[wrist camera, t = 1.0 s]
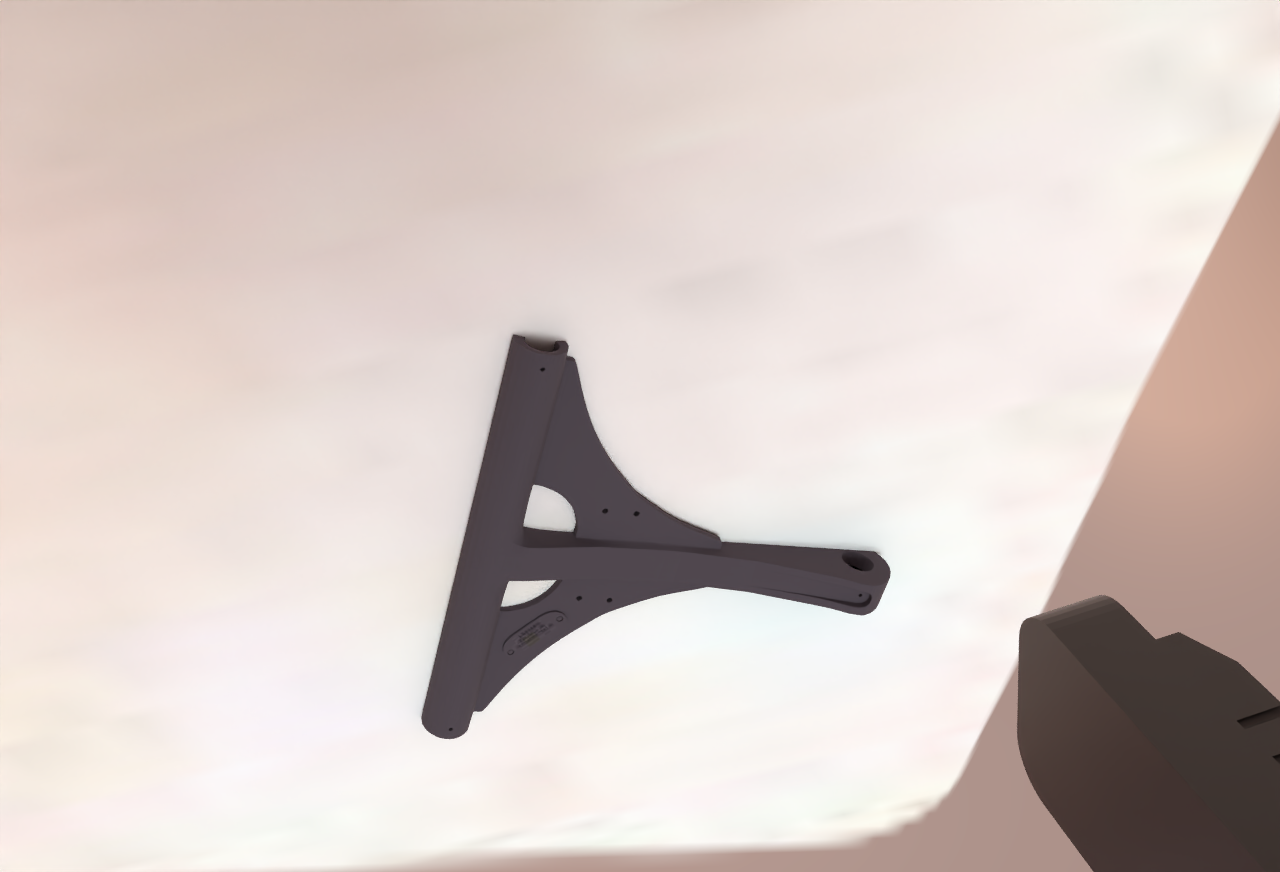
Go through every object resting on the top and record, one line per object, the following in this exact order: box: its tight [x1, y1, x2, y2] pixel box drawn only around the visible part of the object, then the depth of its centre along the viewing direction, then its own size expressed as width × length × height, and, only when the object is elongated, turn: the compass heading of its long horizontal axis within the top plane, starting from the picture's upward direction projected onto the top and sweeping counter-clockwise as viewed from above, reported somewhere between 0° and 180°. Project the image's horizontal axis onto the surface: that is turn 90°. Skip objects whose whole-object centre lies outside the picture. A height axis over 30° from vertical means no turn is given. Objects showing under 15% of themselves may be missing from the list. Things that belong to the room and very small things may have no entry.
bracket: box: [422, 335, 891, 739], centre depth 40 cm, size 14×15×3 cm
